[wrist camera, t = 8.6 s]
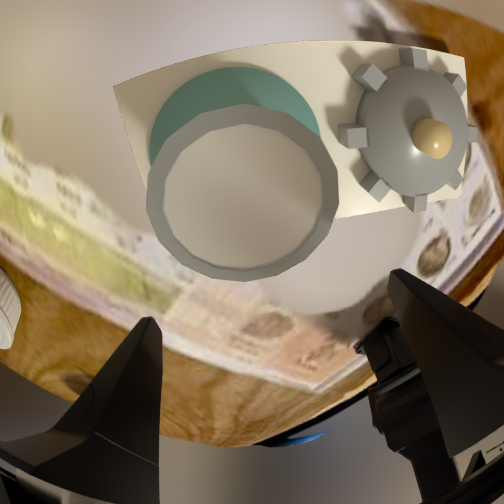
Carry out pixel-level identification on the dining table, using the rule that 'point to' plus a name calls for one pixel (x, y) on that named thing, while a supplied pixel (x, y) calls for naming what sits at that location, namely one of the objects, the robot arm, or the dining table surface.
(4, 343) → the ramekin
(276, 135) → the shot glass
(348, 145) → the gear board
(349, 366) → the dining table surface
